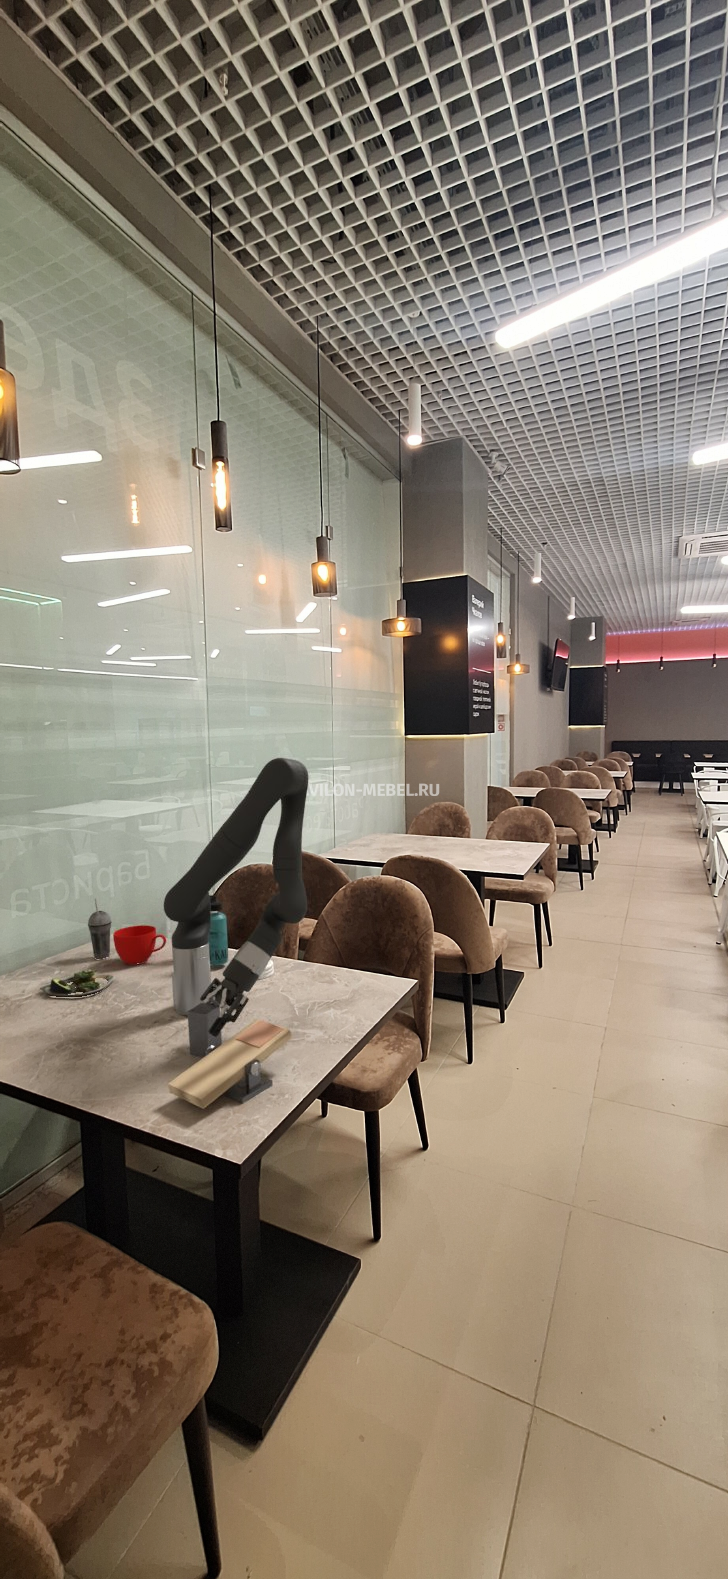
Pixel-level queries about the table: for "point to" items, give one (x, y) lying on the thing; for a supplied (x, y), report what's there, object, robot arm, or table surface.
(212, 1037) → the block
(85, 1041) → the table surface
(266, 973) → the coaster
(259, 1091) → the seesaw stand
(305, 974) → the table surface
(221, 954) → the beverage bottle
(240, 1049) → the seesaw plank
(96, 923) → the beverage cup
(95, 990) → the salad plate
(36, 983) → the table surface
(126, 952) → the ceramic cup
